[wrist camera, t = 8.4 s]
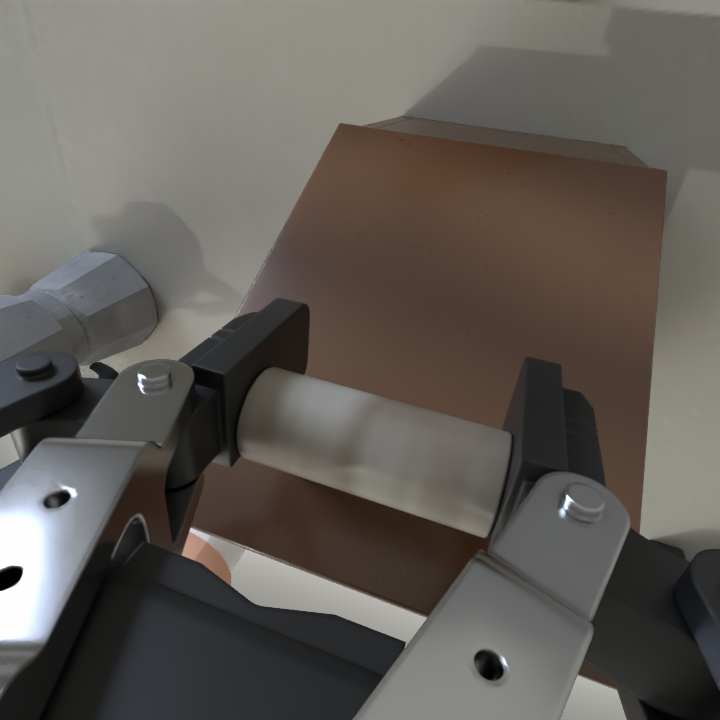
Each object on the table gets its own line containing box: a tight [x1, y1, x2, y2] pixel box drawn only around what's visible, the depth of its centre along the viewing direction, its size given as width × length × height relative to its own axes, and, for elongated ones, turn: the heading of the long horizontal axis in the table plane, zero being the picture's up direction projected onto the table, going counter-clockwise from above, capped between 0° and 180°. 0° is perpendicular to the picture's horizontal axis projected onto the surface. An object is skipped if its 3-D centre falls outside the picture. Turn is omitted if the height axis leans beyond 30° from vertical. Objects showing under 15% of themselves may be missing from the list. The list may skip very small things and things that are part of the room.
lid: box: [191, 123, 667, 690], centre depth 13 cm, size 16×13×5 cm
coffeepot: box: [0, 251, 158, 380], centre depth 36 cm, size 15×9×18 cm, turn 69°
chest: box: [364, 116, 649, 168], centre depth 27 cm, size 16×13×10 cm
